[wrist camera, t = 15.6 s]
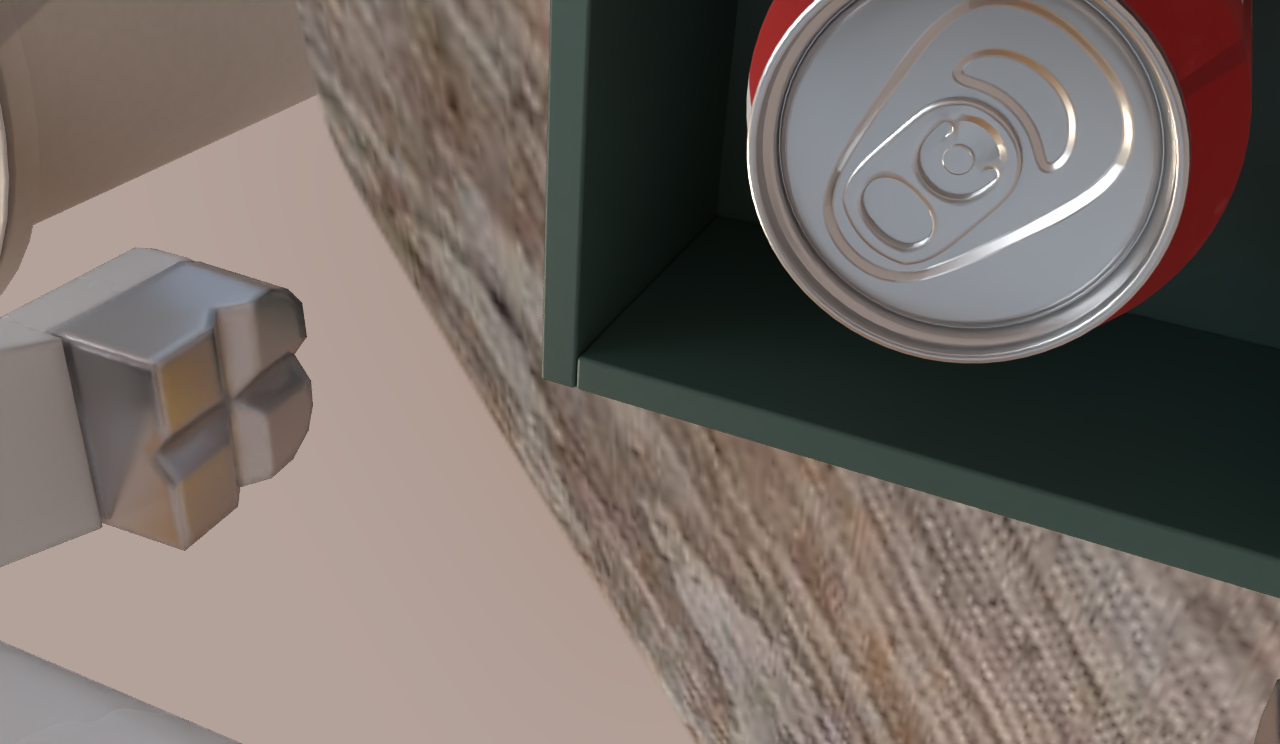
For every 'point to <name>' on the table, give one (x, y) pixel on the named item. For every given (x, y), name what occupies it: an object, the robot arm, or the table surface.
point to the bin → (879, 376)
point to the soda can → (993, 160)
